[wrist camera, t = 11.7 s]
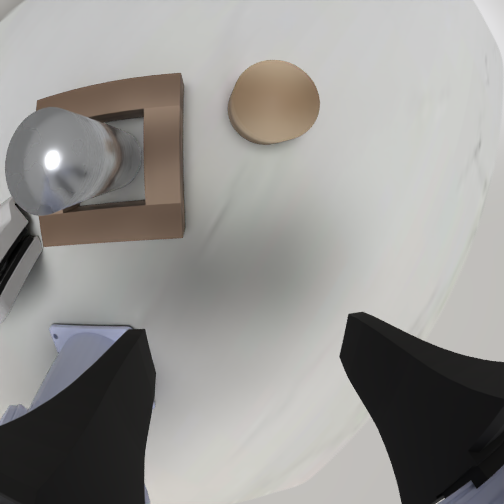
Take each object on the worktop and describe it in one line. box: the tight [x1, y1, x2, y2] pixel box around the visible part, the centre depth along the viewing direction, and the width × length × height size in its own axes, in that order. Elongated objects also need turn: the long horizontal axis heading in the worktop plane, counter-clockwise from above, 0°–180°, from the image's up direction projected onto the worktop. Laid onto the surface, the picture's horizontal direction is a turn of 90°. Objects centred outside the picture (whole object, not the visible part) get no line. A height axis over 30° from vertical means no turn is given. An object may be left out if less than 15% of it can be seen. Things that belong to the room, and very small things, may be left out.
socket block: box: [36, 73, 185, 247], centre depth 15 cm, size 10×10×3 cm
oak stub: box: [228, 60, 320, 145], centre depth 15 cm, size 5×5×4 cm
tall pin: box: [5, 107, 141, 216], centre depth 12 cm, size 4×4×9 cm
